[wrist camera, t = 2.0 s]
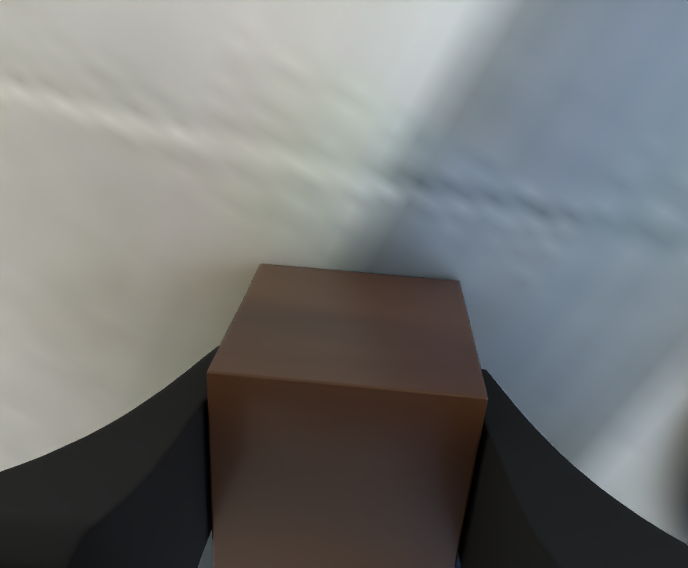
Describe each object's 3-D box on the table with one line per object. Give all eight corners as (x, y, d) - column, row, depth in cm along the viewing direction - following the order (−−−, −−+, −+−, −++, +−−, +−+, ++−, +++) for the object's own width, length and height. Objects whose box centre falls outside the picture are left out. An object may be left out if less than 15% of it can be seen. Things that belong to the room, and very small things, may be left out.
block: (434, 441, 16) (450, 597, 12) (258, 424, 16) (212, 572, 12) (460, 280, 14) (489, 398, 10) (259, 263, 14) (205, 371, 10)
